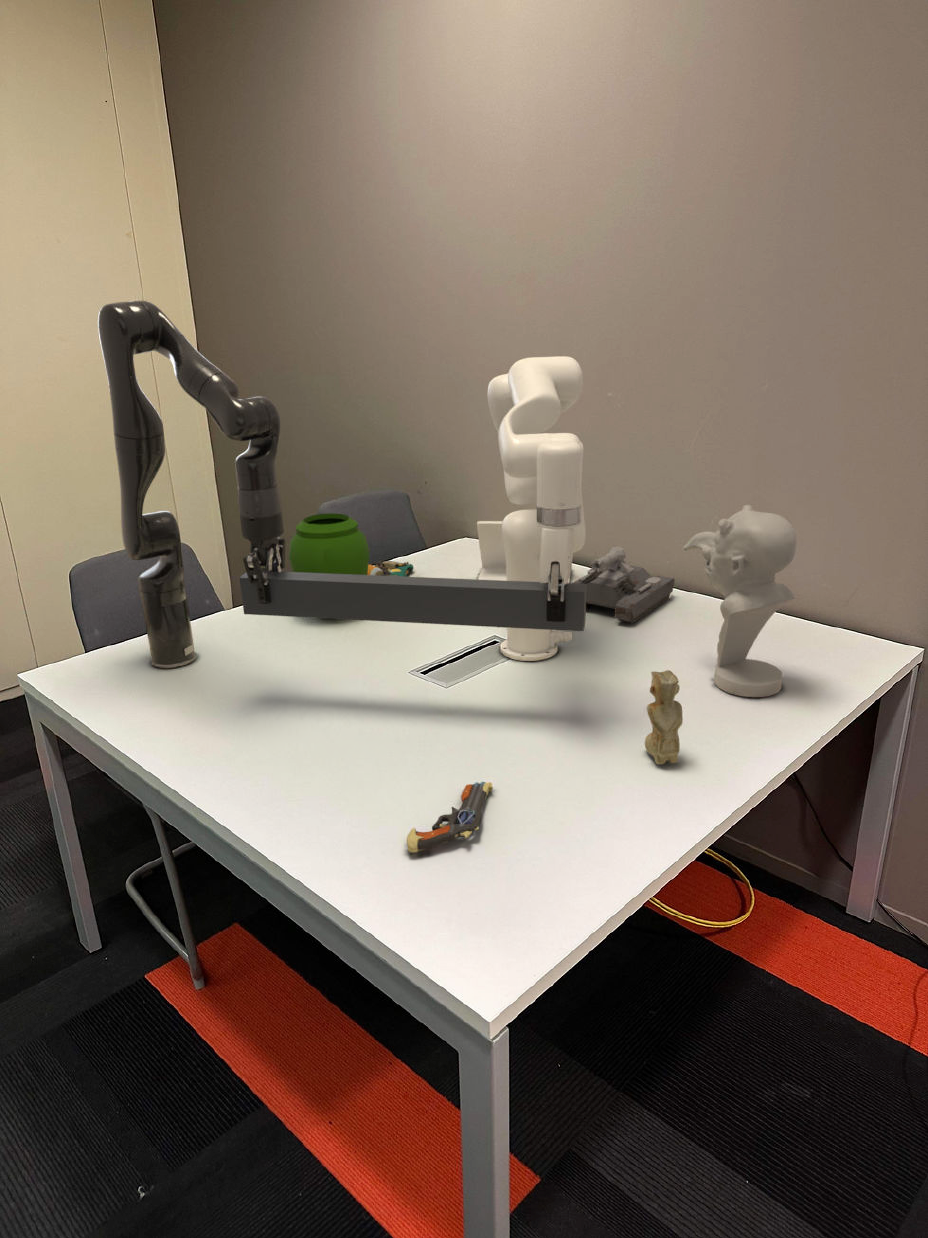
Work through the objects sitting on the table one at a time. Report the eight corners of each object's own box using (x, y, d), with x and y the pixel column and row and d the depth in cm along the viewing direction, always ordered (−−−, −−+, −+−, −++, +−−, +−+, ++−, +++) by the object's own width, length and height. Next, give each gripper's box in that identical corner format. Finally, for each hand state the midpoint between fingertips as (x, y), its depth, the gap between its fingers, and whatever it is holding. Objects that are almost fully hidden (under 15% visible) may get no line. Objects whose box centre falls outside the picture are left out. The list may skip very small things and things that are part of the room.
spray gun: (382, 568, 251) (427, 575, 245) (352, 581, 237) (399, 589, 231) (382, 554, 250) (427, 560, 244) (351, 566, 235) (399, 574, 230)
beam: (585, 622, 153) (586, 583, 150) (583, 631, 149) (584, 592, 146) (253, 606, 166) (249, 570, 163) (243, 614, 162) (239, 577, 159)
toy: (603, 584, 229) (605, 530, 224) (673, 597, 218) (677, 540, 213) (555, 612, 210) (556, 553, 205) (630, 627, 199) (633, 566, 194)
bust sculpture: (716, 647, 187) (729, 489, 174) (804, 687, 167) (826, 512, 154) (658, 663, 180) (668, 499, 167) (743, 707, 160) (761, 525, 147)
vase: (389, 608, 216) (383, 514, 208) (339, 633, 201) (330, 533, 192) (330, 596, 226) (322, 506, 218) (278, 619, 211) (267, 523, 202)
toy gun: (402, 841, 119) (471, 840, 117) (431, 778, 137) (492, 776, 135) (405, 858, 120) (474, 857, 118) (434, 793, 138) (494, 791, 136)
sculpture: (673, 746, 147) (678, 666, 142) (685, 767, 140) (691, 684, 135) (639, 747, 147) (643, 667, 141) (650, 769, 140) (654, 686, 135)
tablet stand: (569, 585, 229) (570, 524, 223) (476, 584, 232) (475, 523, 226) (570, 566, 246) (571, 508, 240) (484, 564, 249) (483, 507, 243)
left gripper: (257, 501, 163) (267, 585, 169) (223, 520, 150) (235, 611, 156) (294, 501, 161) (303, 587, 167) (263, 521, 148) (273, 613, 154)
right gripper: (542, 503, 153) (541, 598, 160) (530, 528, 138) (530, 632, 144) (584, 503, 152) (582, 600, 158) (577, 529, 136) (574, 634, 143)
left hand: (270, 598), depth 162 cm, fingers closed on beam, 4 cm apart
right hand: (557, 614), depth 151 cm, fingers closed on beam, 4 cm apart
